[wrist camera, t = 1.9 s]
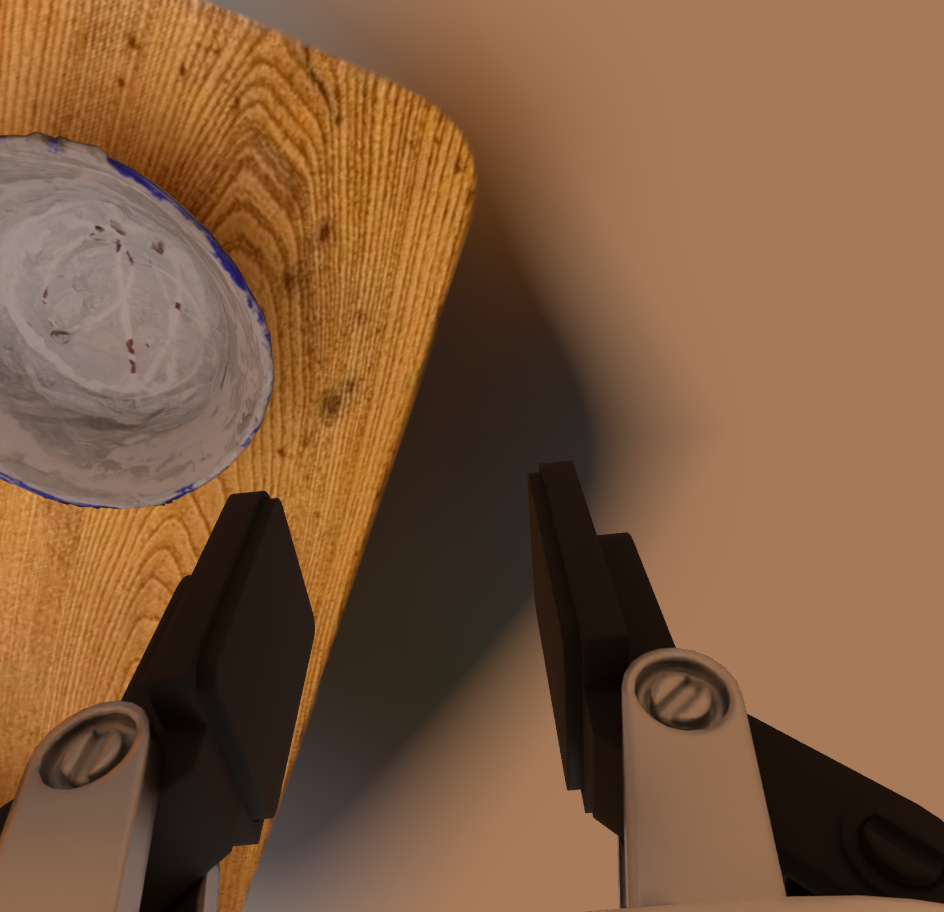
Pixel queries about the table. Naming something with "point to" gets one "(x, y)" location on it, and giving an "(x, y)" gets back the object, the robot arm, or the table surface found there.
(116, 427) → the bowl
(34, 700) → the table surface
